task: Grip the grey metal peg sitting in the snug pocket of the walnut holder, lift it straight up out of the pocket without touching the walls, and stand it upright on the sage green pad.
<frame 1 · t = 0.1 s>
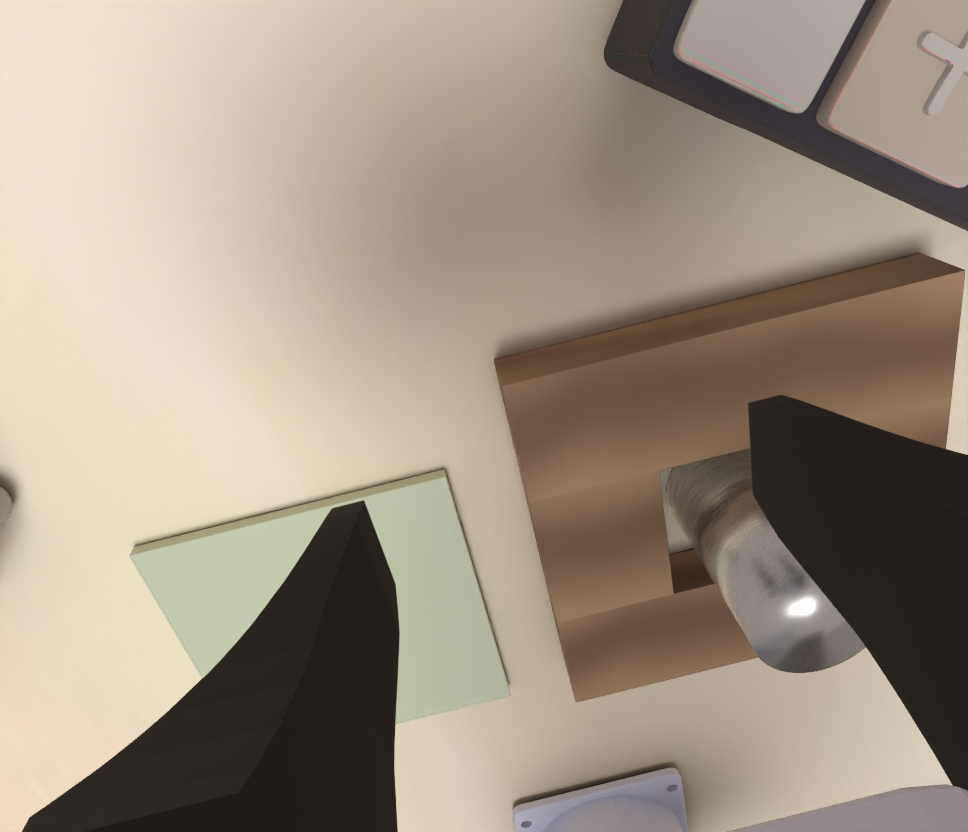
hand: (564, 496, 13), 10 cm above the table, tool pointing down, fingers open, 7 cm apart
walnut holder: (719, 484, 26), on the table
sage pad: (339, 622, 27), on the table
metal peg: (763, 543, 23), in the walnut holder
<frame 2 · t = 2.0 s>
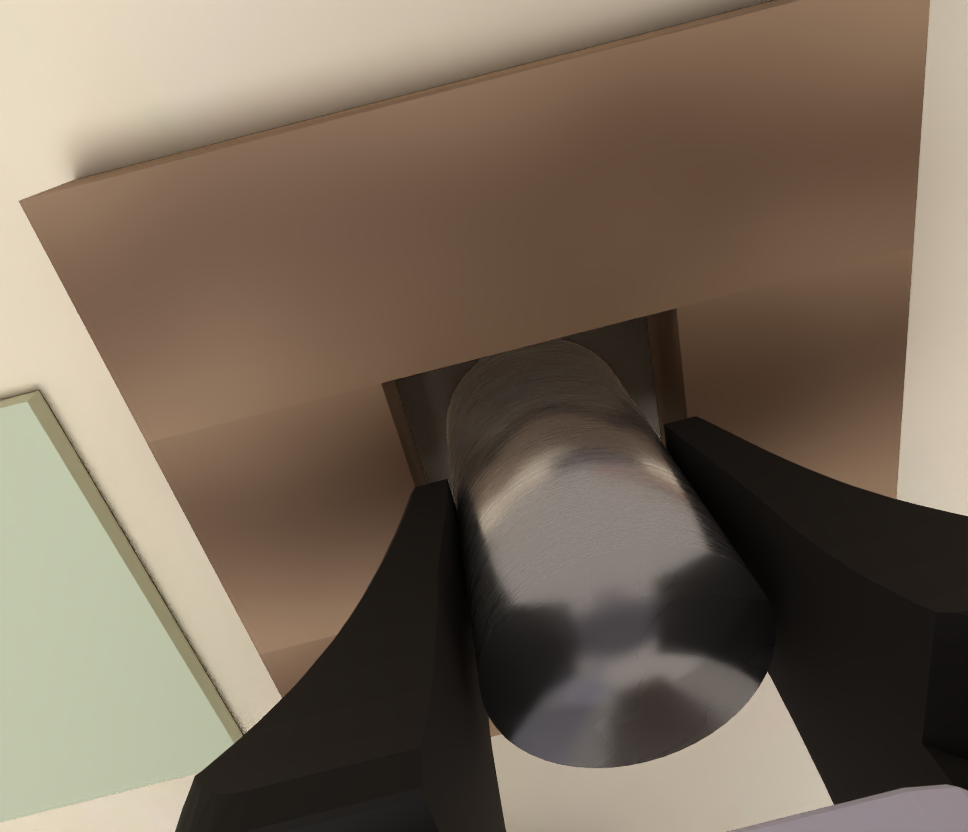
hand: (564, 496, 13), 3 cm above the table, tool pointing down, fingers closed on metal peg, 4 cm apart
walnut holder: (536, 423, 15), on the table
metal peg: (571, 514, 12), in the walnut holder, touching gripper
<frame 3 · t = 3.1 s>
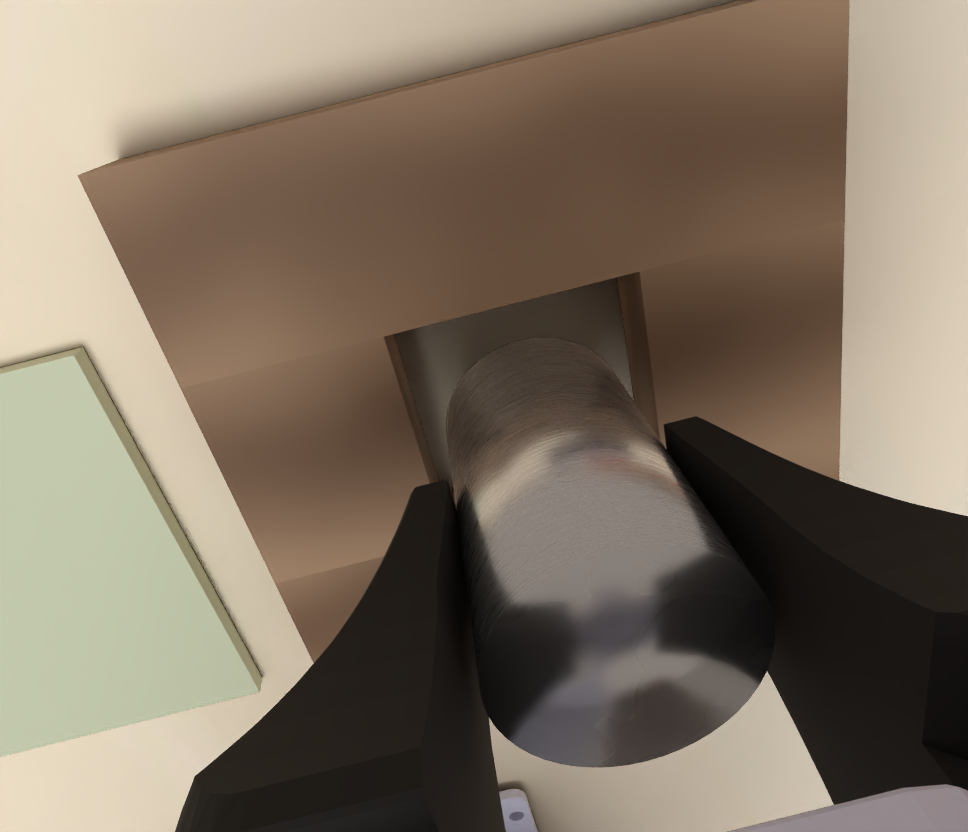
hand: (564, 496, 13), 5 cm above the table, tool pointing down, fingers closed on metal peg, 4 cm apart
walnut holder: (521, 379, 17), on the table
metal peg: (571, 514, 12), point 6 cm above the table, touching gripper
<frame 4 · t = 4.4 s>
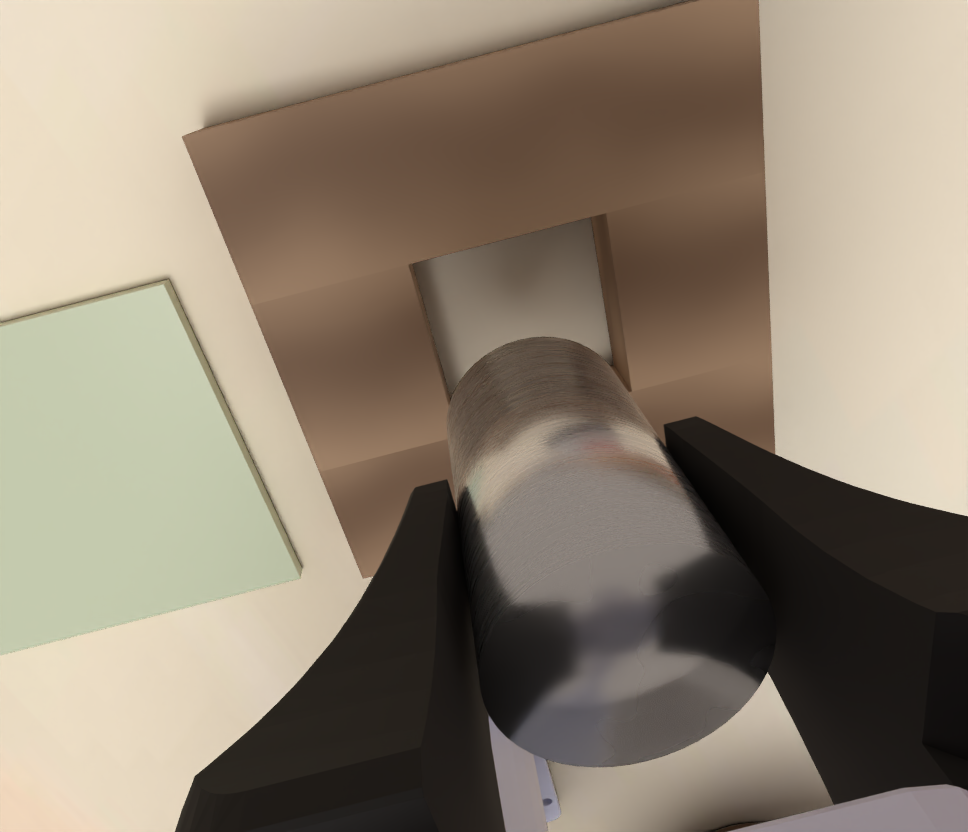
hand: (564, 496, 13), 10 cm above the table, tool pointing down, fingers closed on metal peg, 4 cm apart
walnut holder: (516, 309, 22), on the table
sage pad: (78, 483, 23), on the table
metal peg: (571, 513, 12), point 10 cm above the table, touching gripper
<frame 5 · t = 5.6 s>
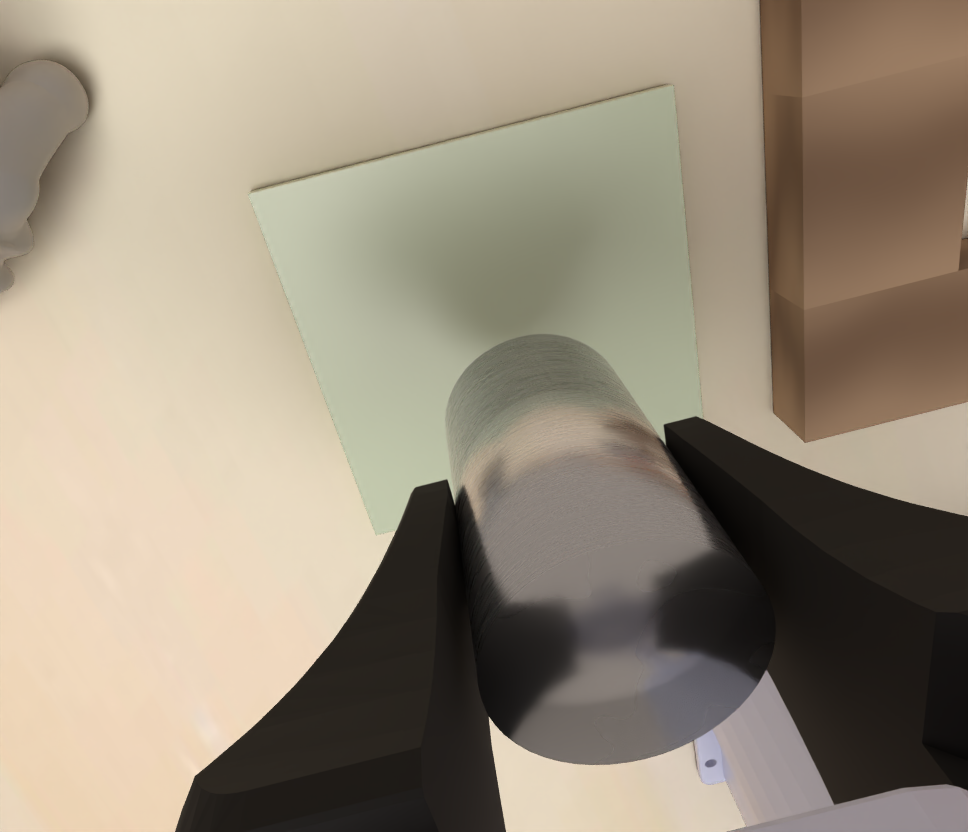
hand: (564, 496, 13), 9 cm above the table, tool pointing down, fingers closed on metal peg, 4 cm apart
sage pad: (503, 333, 21), on the table
metal peg: (570, 510, 12), point 9 cm above the table, touching gripper
when the fingers open (5 cm above the table, at t = 6.6 s): metal peg drops 1 cm, resting on sage pad.
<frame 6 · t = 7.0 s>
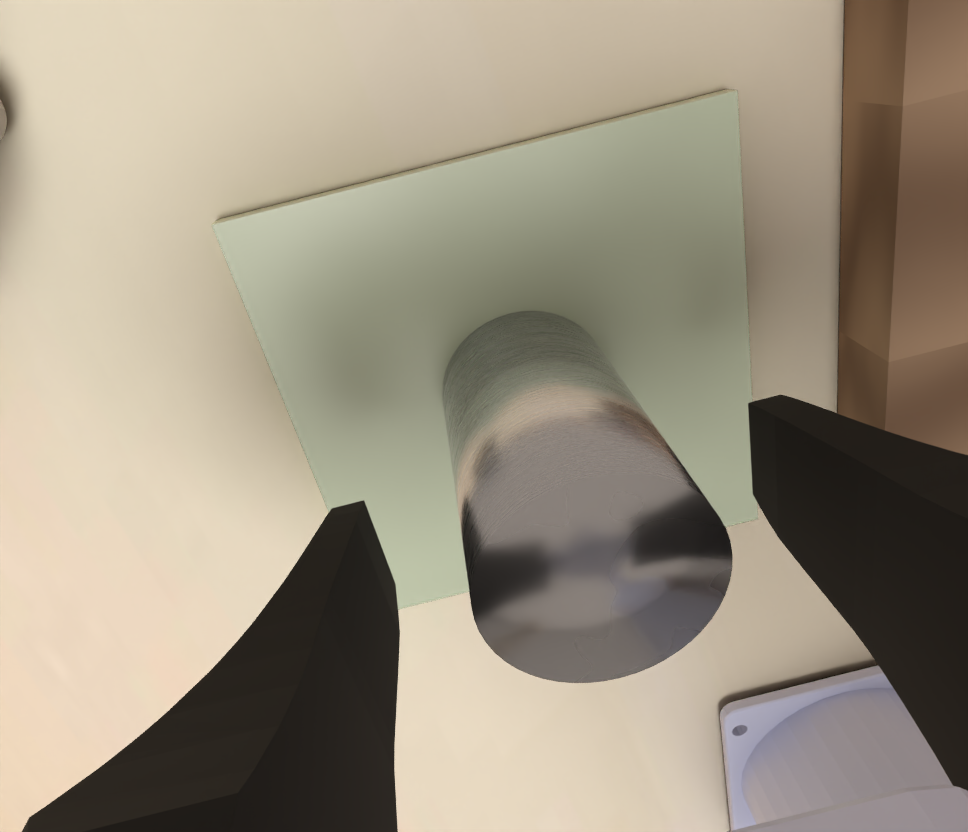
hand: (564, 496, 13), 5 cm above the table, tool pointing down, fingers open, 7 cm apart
sage pad: (522, 385, 17), on the table
metal peg: (555, 466, 14), on the sage pad
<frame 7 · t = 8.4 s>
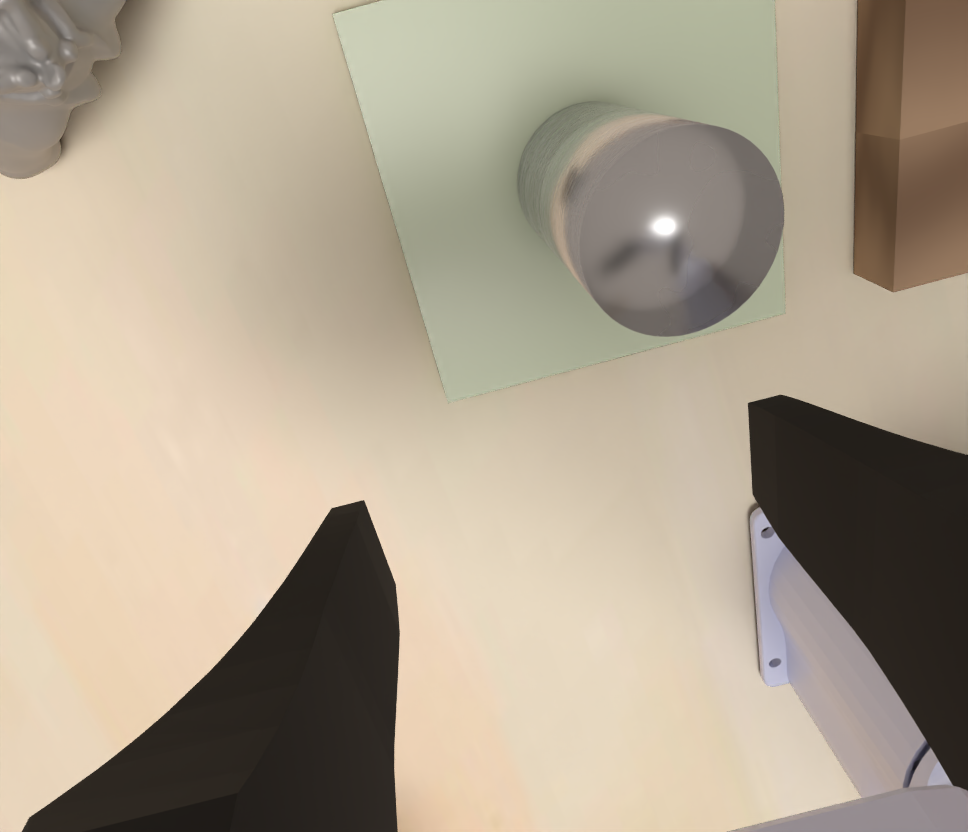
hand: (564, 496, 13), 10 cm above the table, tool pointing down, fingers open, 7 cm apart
sage pad: (583, 180, 20), on the table
metal peg: (626, 203, 16), on the sage pad
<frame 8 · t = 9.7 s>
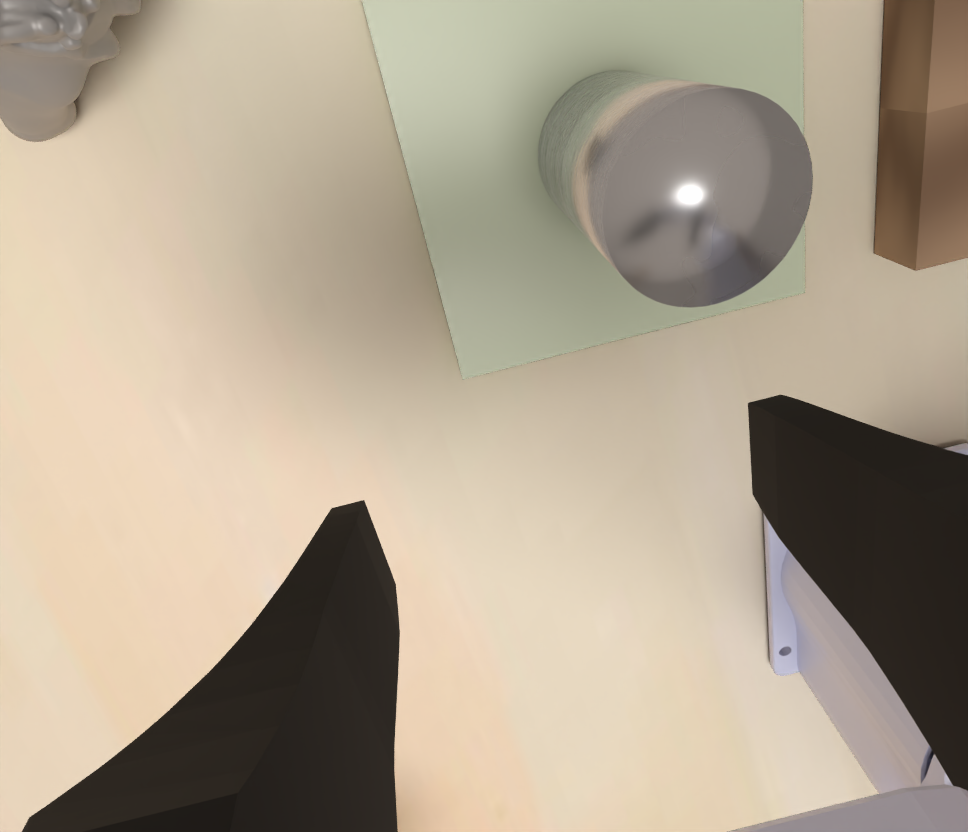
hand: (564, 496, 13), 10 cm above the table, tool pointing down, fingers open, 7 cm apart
sage pad: (604, 152, 20), on the table
metal peg: (649, 173, 16), on the sage pad
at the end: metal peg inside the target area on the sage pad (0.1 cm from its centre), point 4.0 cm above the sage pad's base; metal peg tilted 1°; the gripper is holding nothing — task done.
